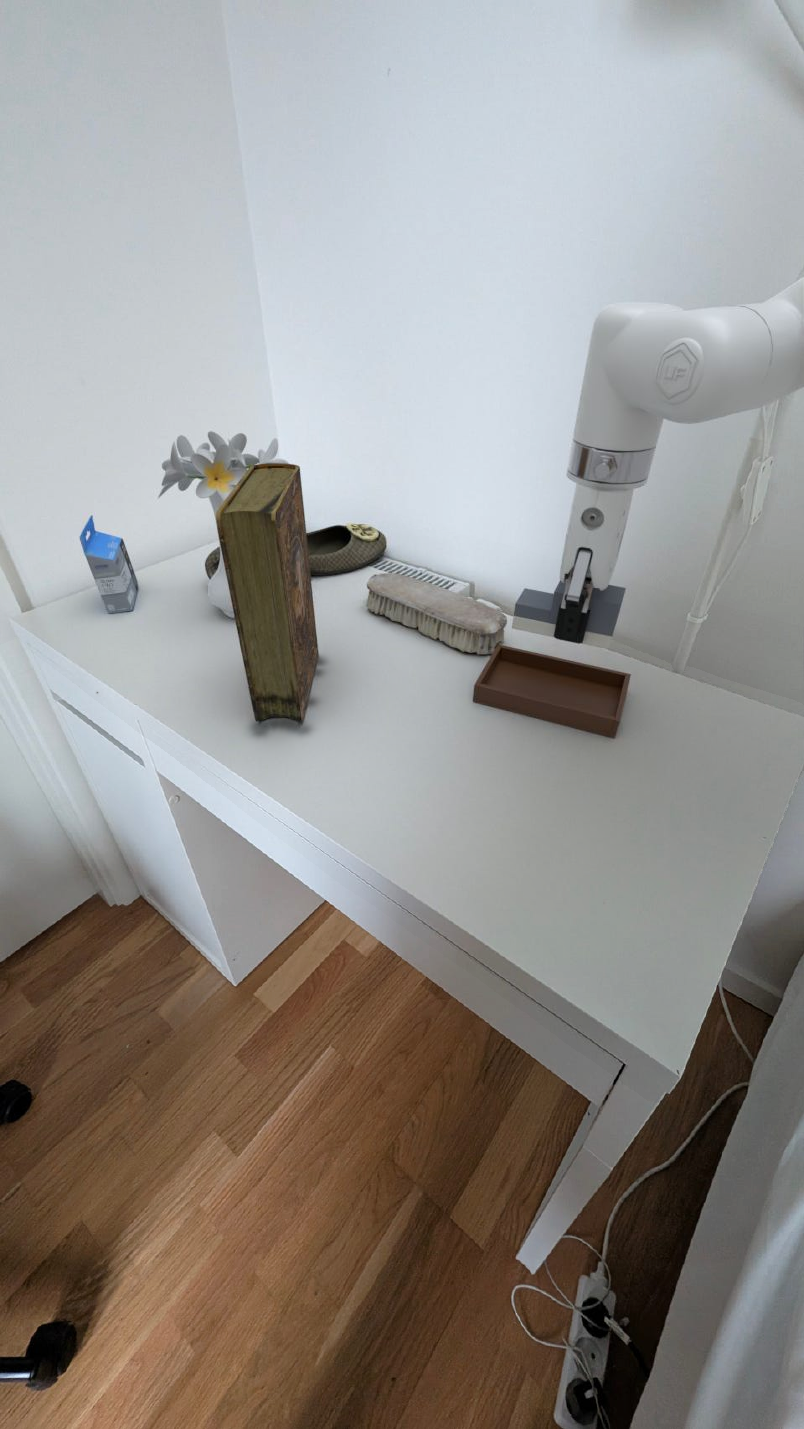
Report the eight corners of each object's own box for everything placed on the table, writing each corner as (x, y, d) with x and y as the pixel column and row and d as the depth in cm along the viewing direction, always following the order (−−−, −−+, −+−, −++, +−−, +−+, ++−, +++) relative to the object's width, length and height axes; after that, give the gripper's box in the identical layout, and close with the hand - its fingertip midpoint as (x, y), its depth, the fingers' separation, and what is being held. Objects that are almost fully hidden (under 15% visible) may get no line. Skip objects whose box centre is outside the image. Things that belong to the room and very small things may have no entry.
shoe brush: (354, 610, 90) (353, 580, 87) (385, 592, 95) (385, 564, 91) (485, 664, 78) (489, 632, 75) (513, 642, 83) (518, 611, 80)
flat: (399, 563, 104) (399, 521, 99) (216, 601, 92) (206, 556, 87) (374, 541, 111) (372, 502, 106) (202, 574, 100) (192, 531, 95)
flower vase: (314, 595, 94) (297, 427, 78) (230, 645, 82) (191, 458, 66) (255, 575, 99) (229, 415, 84) (169, 620, 87) (119, 442, 72)
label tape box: (133, 611, 89) (108, 534, 82) (105, 614, 89) (77, 536, 81) (139, 586, 96) (117, 512, 88) (113, 589, 95) (88, 514, 88)
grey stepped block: (614, 630, 67) (626, 587, 63) (608, 649, 64) (620, 605, 60) (521, 611, 70) (527, 569, 67) (511, 628, 67) (517, 584, 64)
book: (280, 651, 81) (252, 462, 65) (319, 651, 81) (301, 463, 65) (256, 726, 68) (213, 514, 52) (302, 727, 68) (274, 515, 52)
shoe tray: (625, 690, 74) (631, 673, 72) (614, 738, 67) (620, 721, 65) (495, 660, 79) (497, 644, 78) (472, 701, 72) (474, 684, 70)
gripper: (641, 494, 48) (593, 675, 59) (658, 445, 60) (616, 603, 71) (550, 482, 50) (521, 658, 62) (585, 437, 62) (555, 592, 74)
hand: (572, 627), depth 66 cm, fingers closed on grey stepped block, 4 cm apart
